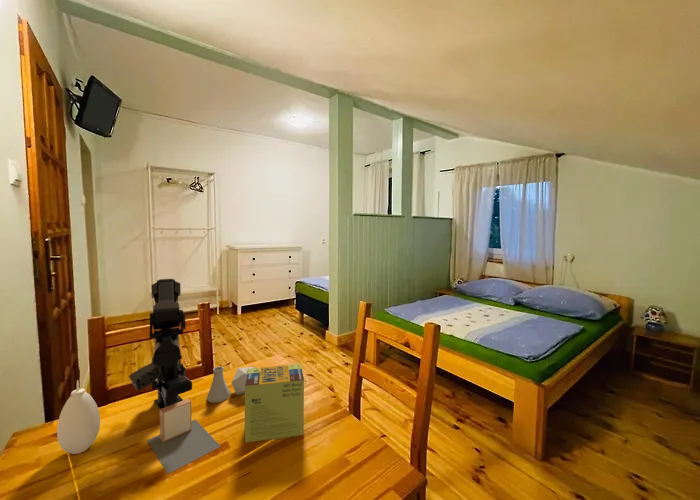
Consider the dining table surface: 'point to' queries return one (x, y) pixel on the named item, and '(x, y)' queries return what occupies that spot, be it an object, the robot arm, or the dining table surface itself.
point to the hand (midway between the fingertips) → (168, 407)
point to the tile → (175, 420)
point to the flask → (218, 387)
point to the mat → (183, 447)
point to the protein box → (274, 402)
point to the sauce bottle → (78, 422)
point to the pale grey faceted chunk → (240, 380)
